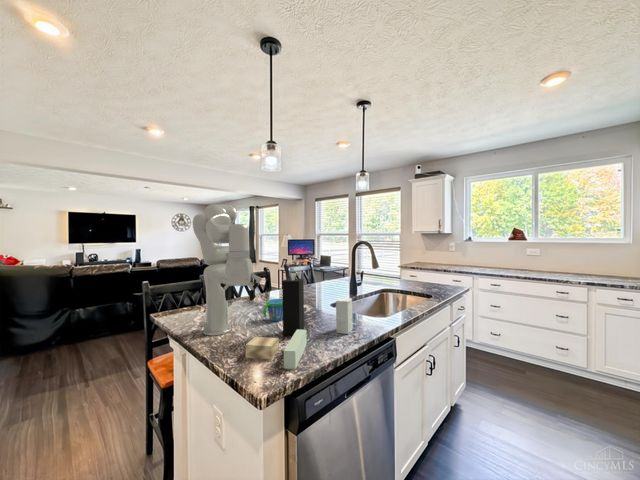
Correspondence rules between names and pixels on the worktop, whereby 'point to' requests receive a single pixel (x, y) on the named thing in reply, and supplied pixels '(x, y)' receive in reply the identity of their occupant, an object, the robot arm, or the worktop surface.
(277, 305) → the snack cup
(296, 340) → the board
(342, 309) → the skincare box
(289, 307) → the tall black block
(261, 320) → the worktop surface
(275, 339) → the maple block
